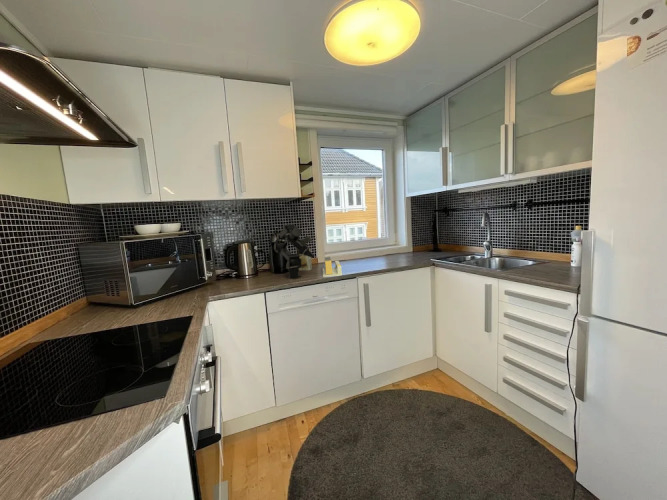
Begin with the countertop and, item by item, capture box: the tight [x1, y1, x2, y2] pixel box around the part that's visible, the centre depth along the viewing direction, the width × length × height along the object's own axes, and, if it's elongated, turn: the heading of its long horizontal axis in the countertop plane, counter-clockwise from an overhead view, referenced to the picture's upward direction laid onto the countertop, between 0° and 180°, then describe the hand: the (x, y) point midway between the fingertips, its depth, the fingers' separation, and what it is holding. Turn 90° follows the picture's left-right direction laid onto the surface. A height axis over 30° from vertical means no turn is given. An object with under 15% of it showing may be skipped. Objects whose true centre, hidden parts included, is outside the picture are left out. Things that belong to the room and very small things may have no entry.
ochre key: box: [324, 260, 333, 274], centre depth 178 cm, size 4×6×8 cm, turn 3°
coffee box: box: [296, 247, 313, 271], centre depth 207 cm, size 9×6×16 cm
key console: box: [322, 260, 343, 278], centre depth 188 cm, size 12×28×6 cm, turn 3°
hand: (313, 257), depth 177 cm, fingers closed
